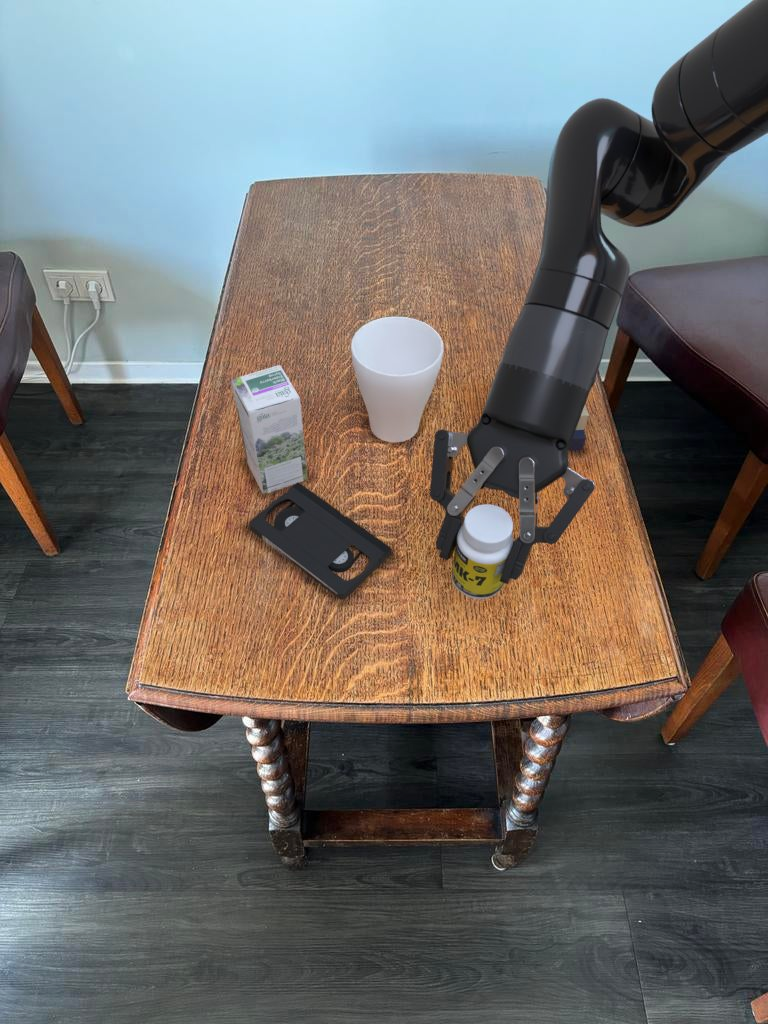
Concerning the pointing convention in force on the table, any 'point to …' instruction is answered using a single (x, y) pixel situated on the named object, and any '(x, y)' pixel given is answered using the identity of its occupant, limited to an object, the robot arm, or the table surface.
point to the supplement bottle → (482, 551)
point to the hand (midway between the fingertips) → (475, 568)
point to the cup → (396, 373)
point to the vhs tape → (319, 540)
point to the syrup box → (271, 428)
